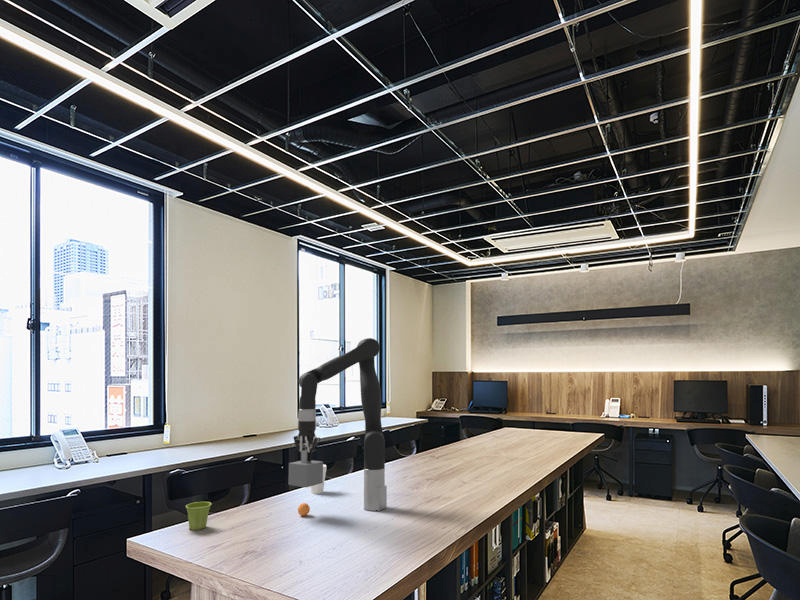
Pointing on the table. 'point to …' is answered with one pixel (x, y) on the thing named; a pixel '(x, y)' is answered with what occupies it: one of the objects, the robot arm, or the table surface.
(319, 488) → the foam cup
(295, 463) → the grey block with knob
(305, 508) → the ball
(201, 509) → the plant pot
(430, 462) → the table surface
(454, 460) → the table surface
